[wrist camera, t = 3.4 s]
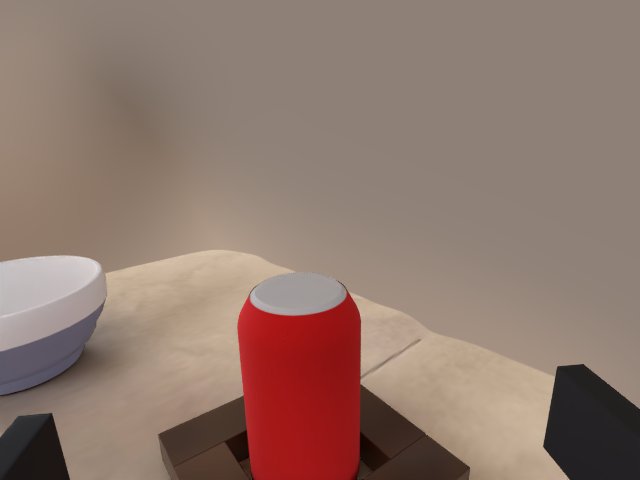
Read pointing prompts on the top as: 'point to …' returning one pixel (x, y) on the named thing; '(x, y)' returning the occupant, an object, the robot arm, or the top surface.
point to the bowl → (46, 316)
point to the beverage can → (301, 378)
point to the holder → (375, 446)
